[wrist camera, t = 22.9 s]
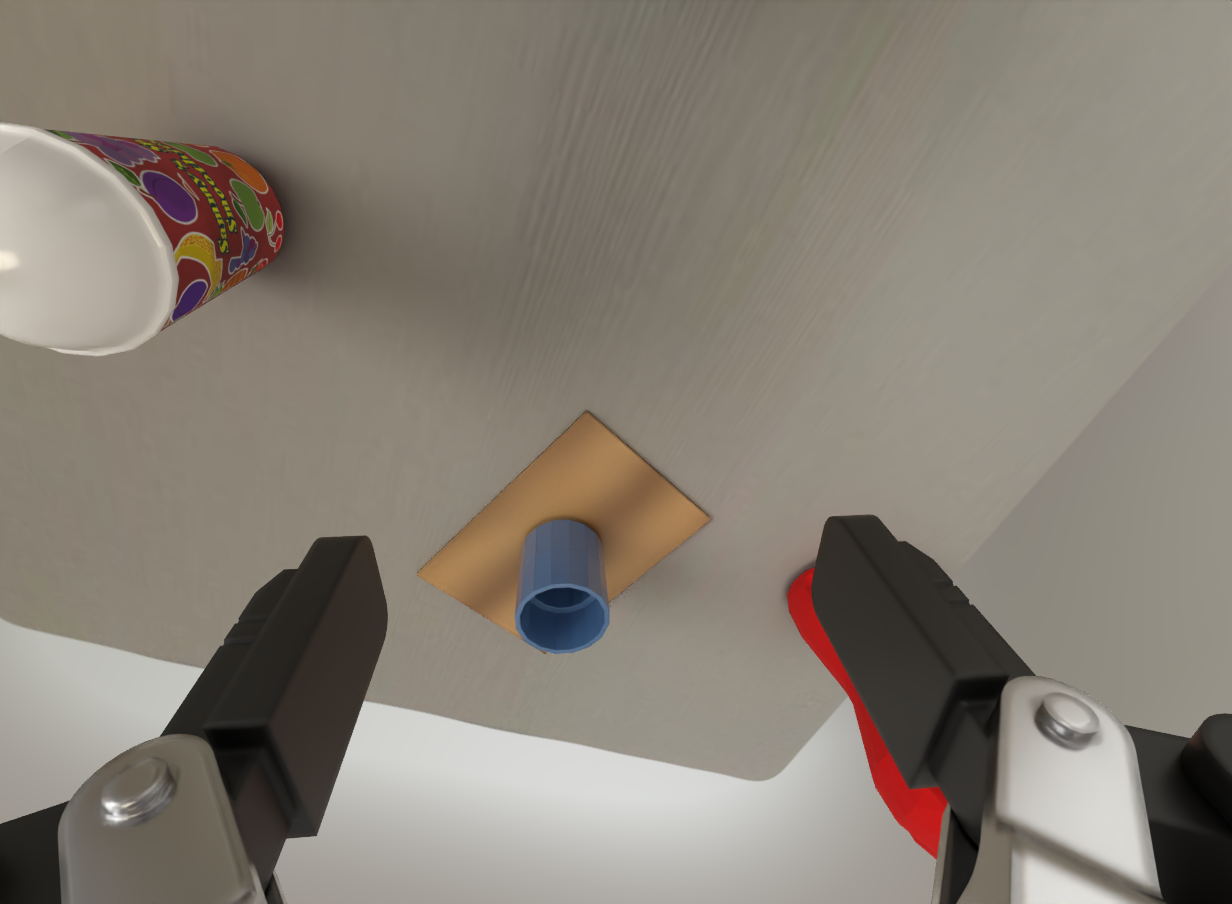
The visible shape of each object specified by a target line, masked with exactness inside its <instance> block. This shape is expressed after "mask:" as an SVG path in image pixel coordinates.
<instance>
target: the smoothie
mask: <svg viewBox="0 0 1232 904" xmlns="http://www.w3.org/2000/svg"><path fill="white" fill-rule="evenodd" d="M284 230H285V228H284V222H283V216H282V210H281V207H280V205H279V203H278V200H277V198H276V196H275V194H274V192H273V190H272V188H271V187H270V186H269V184H268V183H267V182H266V181H265V179H264V178H263V177H262V176H261V175H260V173H259V172H258V171H257V170H256V169H255V168H253V167H252V166H251V165H249V164H248V163H247V162H245V161H244V160H243V159H241V158H240V157H239V156H237V155H235V154H232V153H230V152H228V151H225V150H223V149H220V148H218V147H213V146H204V145H193V144H183V143H173V142H163V141H154V140H144V139H134V138H124V137H115V136H105V135H95V134H85V133H76V132H66V131H56V130H46V129H41V128H37V127H31V126H24V125H16V124H9V123H2V122H0V335H1V336H3V337H6V338H9V339H12V340H15V341H18V342H21V343H24V344H27V345H30V346H35V347H44V348H50V349H53V350H56V351H59V352H62V353H65V354H75V355H87V356H98V357H103V356H108V355H113V354H118V353H123V352H128V351H132V350H134V349H136V348H137V347H139V346H140V345H142V344H143V343H145V342H146V341H148V340H149V339H151V338H152V337H154V336H155V335H157V334H158V333H159V332H160V331H162V330H163V329H165V328H167V327H168V326H170V325H171V324H173V323H175V322H176V321H178V320H180V319H181V318H183V317H184V316H186V315H188V314H189V313H191V312H193V311H194V310H196V309H197V308H199V307H201V306H202V305H204V304H206V303H207V302H209V301H210V300H212V299H214V298H215V297H217V296H219V295H220V294H222V293H223V292H225V291H227V290H228V289H230V288H232V287H233V286H235V285H236V284H238V283H240V282H241V281H243V280H245V279H246V278H248V277H249V276H251V275H253V274H254V273H256V272H258V271H259V270H261V269H262V268H264V267H265V266H267V265H268V264H269V263H271V262H272V261H273V260H274V258H275V257H276V255H277V253H278V252H279V250H280V248H281V247H282V241H283V235H284Z"/></svg>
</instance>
